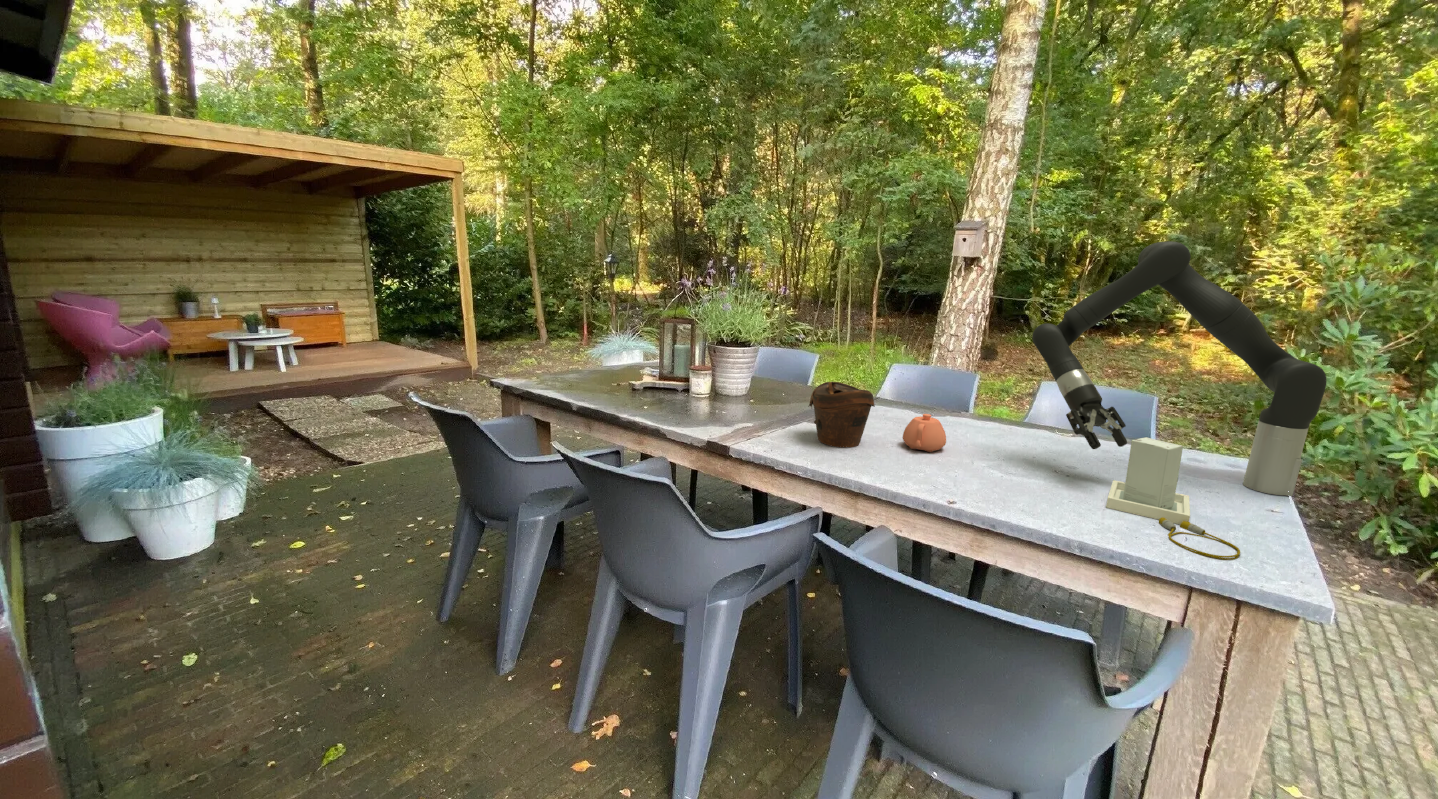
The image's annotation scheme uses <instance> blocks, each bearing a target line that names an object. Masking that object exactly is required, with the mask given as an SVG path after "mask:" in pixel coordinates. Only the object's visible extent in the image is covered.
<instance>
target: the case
mask: <svg viewBox="0 0 1438 799" xmlns="http://www.w3.org/2000/svg"><path fill="white" fill-rule="evenodd" d="M809 407H810V409H811V410H812V407H813V412H814V419H815V420H813V423H814V424H815V428H816V435H817V437H816V438H817V440H818V441H819V442H820V443H822V444H824V445H826V446H829V447H833V448H834V447H835V448H854V447H857V446H859V445H860V444H861V441H862V438H863V435H864V434H863V433H864V432H865V428H866V425H867V421H868V420H869V416H870V411H871V408H872V407H875V399H874V393H872V391H870V390H867V389H859V388H858V387H855V386H852V385H850V384H846V383H842V382H837V381H826V382H823V383H820V384H818V386H816V387H815V389H813V391H812V393H811V395H810V399H809V405H808V408H809Z"/></svg>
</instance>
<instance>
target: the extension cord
mask: <svg viewBox="0 0 1438 799" xmlns="http://www.w3.org/2000/svg"><path fill="white" fill-rule="evenodd" d="M1158 524H1159V525H1161V527H1163V528H1165V529H1167V530H1168V531H1169V533H1168V534H1167V536H1168V539H1169V541H1170V542H1172V543H1173V544H1175V545H1177V546H1178V547H1180V548H1181V549H1184V550H1186V551H1187V552H1190V553H1194V554H1197V555H1200V556H1204V557H1208V558H1212V559H1217V560H1223V561H1225V560H1226V561H1231V560H1236V559H1238V558H1239V556H1240V554H1241V550H1240V548H1239V547H1238V546H1236V545H1235V544H1233V543H1231V542H1228V541H1227V540H1224V539H1222V538H1220V537H1217V536H1214V535H1213V534H1209V532H1208V533H1207V532H1206V529H1204V528H1202V527H1200V526H1198V525H1196V524H1194V523H1191V522H1190V520H1189V521H1188V522H1186V521H1183V522H1182V523H1181V524H1179V528H1181V529H1184V530H1186V531H1189V532H1185V531H1176V530H1177V524H1175V523H1172V522H1171V521H1169V520H1167V519H1166V518H1164V517H1162V518H1160V519H1159V520H1158ZM1175 531H1176V532H1175ZM1190 532H1192V533H1190ZM1178 534H1179V535H1180V534H1181V535H1182V534H1183V535H1189V536H1195V537H1201V538H1204V539H1205V538H1206V539H1209V540H1213V541H1216V542H1219V543H1222V544H1224V545H1226V546H1229V547H1231V548H1233V549H1234V550H1235V551H1236V554H1232V555H1231V554H1230V555H1219V554H1212V553H1209V552H1204V551H1201V550H1197V549H1195V548H1191V547H1189V546H1188V545H1184V544H1183V543H1180V542H1178V541H1177V540H1175V539H1173V538H1172V536H1174V535H1175V536H1176V535H1178ZM1206 535H1207V536H1206ZM1208 536H1209V537H1208Z"/></svg>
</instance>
